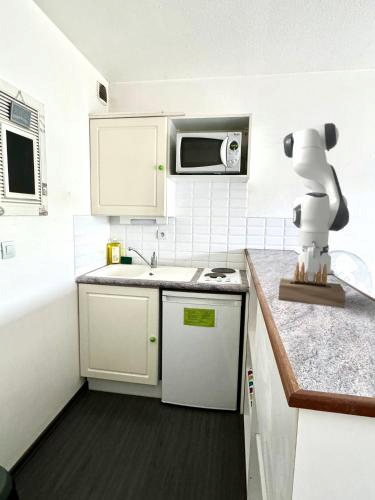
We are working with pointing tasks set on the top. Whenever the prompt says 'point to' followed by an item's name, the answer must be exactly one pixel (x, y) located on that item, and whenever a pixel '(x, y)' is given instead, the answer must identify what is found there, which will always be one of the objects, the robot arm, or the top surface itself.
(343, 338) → the top surface
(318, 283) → the ammunition clip
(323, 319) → the top surface
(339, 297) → the slotted wooden block
